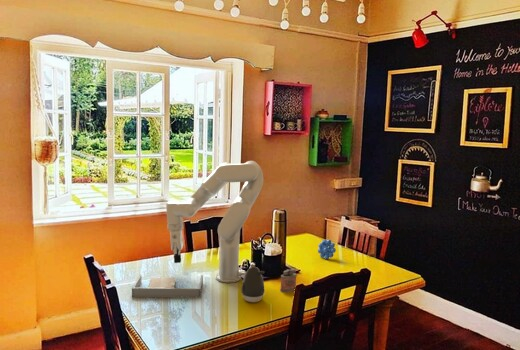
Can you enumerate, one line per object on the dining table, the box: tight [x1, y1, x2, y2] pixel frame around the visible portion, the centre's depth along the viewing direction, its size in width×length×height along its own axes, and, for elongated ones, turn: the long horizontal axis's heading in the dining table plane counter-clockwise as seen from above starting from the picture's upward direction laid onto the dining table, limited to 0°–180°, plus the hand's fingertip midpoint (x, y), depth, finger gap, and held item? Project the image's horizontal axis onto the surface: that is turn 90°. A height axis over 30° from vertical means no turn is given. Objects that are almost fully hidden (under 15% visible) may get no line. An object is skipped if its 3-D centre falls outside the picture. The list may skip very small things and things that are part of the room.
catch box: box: [131, 274, 204, 299], centre depth 199 cm, size 30×16×4 cm, turn 93°
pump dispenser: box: [240, 266, 266, 303], centre depth 191 cm, size 10×10×15 cm
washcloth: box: [147, 276, 176, 288], centre depth 201 cm, size 12×18×3 cm, turn 9°
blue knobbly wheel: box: [317, 239, 337, 260], centre depth 249 cm, size 12×7×12 cm, turn 48°
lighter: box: [279, 268, 298, 293], centre depth 203 cm, size 8×3×10 cm, turn 117°
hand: (177, 262), depth 216 cm, fingers closed
